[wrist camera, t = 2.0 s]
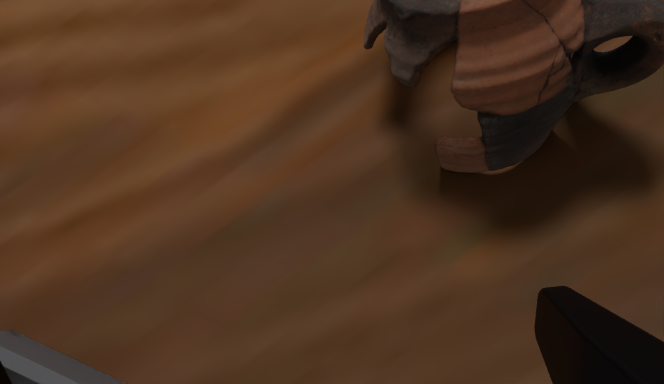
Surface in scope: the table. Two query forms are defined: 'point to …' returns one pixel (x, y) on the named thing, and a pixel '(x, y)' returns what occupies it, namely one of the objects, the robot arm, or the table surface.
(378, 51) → the table surface
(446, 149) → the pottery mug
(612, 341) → the robot arm
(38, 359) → the tray
